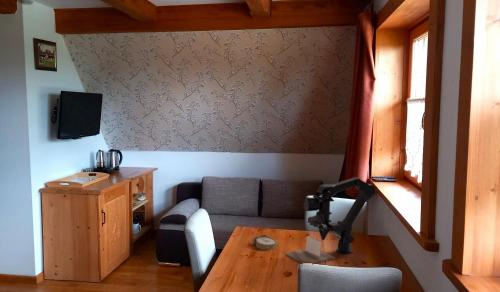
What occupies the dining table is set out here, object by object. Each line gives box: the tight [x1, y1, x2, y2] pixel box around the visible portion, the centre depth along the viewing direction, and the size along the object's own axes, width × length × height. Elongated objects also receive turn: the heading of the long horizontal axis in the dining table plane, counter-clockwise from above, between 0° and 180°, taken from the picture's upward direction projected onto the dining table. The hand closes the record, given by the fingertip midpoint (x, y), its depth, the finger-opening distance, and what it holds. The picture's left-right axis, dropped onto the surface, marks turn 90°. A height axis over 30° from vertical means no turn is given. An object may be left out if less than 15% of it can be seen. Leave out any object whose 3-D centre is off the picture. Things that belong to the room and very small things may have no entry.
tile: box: [305, 235, 323, 256], centre depth 196 cm, size 7×10×1 cm
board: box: [285, 248, 335, 265], centre depth 195 cm, size 18×16×1 cm
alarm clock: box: [251, 234, 279, 251], centre depth 210 cm, size 11×5×15 cm
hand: (323, 239), depth 199 cm, fingers closed
